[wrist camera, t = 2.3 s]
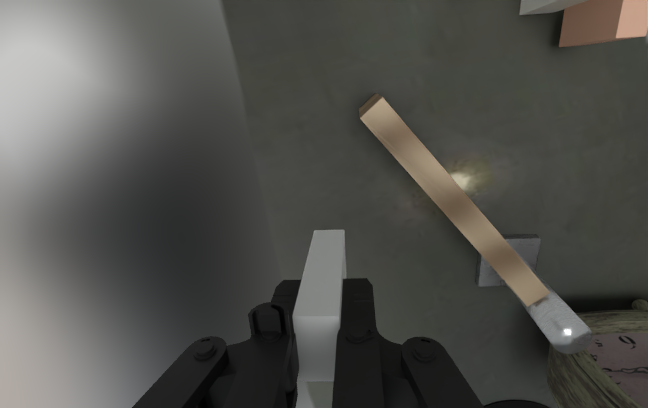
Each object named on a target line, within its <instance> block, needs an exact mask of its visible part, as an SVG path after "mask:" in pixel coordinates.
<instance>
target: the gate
mask: <svg viewBox="0 0 648 408" xmlns="http://www.w3.org/2000/svg"><path fill="white" fill-rule="evenodd" d="M359 115H360V119H361V120H362V121H363V122H364V123H365V125H366V126H367V127H368V128H369V129H370V130H371V131H372V132H373V134H374V135H375V136H376V137H377V138H378V139H379V140H380V141H381V143H382V144H383V145H384V146H385V147H386V148H387V149H388V150H389V152H390V153H391V154H392V155H393V156H394V157H395V158H396V159H397V161H398V162H399V163H400V164H401V165H402V166H403V167H404V168H405V170H406V171H407V172H408V173H409V174H410V175H411V176H412V177H413V179H414V180H415V181H416V182H417V183H418V184H419V185H420V186H421V188H422V189H423V190H424V191H425V192H426V193H427V194H428V195H429V197H430V198H431V199H432V200H433V201H434V202H435V203H436V204H437V206H438V207H439V208H440V209H441V210H442V211H443V212H444V213H445V215H446V216H447V217H448V218H449V219H450V220H451V221H452V222H453V224H454V225H455V226H456V227H457V228H458V229H459V230H460V231H461V233H462V234H463V235H464V236H465V237H466V238H467V239H468V240H469V242H470V243H471V244H472V245H473V246H474V247H475V248H476V249H477V251H478V252H479V253H480V254H481V255H482V256H483V257H484V258H485V259H486V261H487V262H488V263H489V264H490V265H491V266H492V267H493V268H494V270H495V271H496V272H497V273H498V274H499V275H500V276H501V277H502V279H503V280H504V281H505V282H506V283H507V284H508V285H509V286H510V288H511V289H512V290H513V291H514V292H515V293H516V294H517V295H518V297H519V298H520V299H521V300H522V301H523V302H524V303H525V304H526V306H527V307H528V306H529V305H531V304H533V303H534V302H536V301H538V300H539V299H541V298H543V297H544V296H546V295H548V294H549V293H550V292H549V291H548V289H547V288H546V287H545V286H544V285H543V284H542V282H541V281H540V280H539V279H538V278H537V277H536V275H535V274H534V273H533V272H532V271H531V270H530V268H529V267H528V266H527V265H526V264H525V263H524V261H523V260H522V259H521V258H520V257H519V256H518V254H517V253H516V252H515V251H514V250H513V249H512V247H511V246H510V245H509V244H508V243H507V242H506V240H505V239H504V238H503V237H502V236H501V235H500V233H499V232H498V231H497V230H496V229H495V228H494V226H493V225H492V224H491V223H490V222H489V221H488V219H487V218H486V217H485V216H484V215H483V214H482V213H481V211H480V210H479V209H478V208H477V207H476V206H475V204H474V203H473V202H472V201H471V200H470V199H469V197H468V196H467V195H466V194H465V193H464V192H463V190H462V189H461V188H460V187H459V186H458V185H457V183H456V182H455V181H454V180H453V179H452V178H451V176H450V175H449V174H448V173H447V172H446V171H445V169H444V168H443V167H442V166H441V165H440V164H439V162H438V161H437V160H436V159H435V158H434V157H433V155H432V154H431V153H430V152H429V151H428V150H427V148H426V147H425V146H424V145H423V144H422V143H421V141H420V140H419V139H418V138H417V137H416V136H415V134H414V133H413V132H412V131H411V130H410V129H409V127H408V126H407V125H406V124H405V123H404V122H403V120H402V119H401V118H400V117H399V116H398V115H397V114H396V112H395V111H394V110H393V109H392V108H391V107H390V105H389V104H388V103H387V102H386V101H385V100H384V98H383V97H381V96H380V95H378V94H377V93H375V94H374V95H373V96H372V97H371V98H370V99H369V100H368V101H367V102H366V103H364V104H363V105H362V106H361V107H360V108H359Z"/></svg>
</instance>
